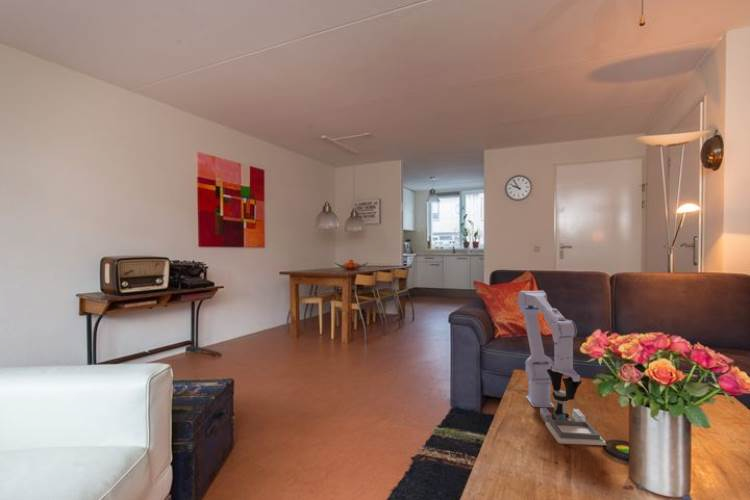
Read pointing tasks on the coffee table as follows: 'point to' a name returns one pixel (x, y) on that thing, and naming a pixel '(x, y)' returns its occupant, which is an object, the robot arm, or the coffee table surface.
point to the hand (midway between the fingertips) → (563, 394)
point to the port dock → (574, 432)
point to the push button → (560, 405)
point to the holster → (547, 415)
